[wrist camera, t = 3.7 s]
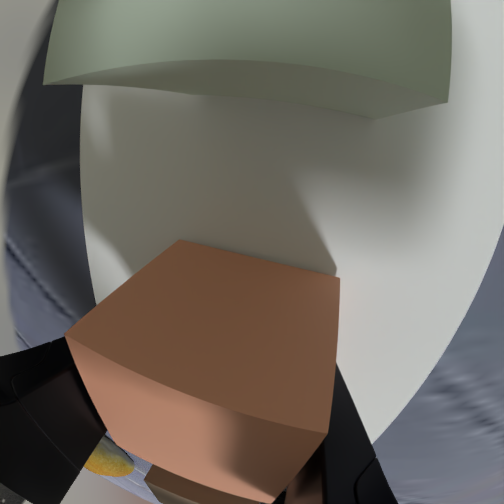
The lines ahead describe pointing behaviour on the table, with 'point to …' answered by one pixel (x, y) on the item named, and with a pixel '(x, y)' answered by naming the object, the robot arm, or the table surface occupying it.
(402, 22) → the sage block
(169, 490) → the walnut block
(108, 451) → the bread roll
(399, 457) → the table surface
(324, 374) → the terracotta block
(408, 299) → the white mat
